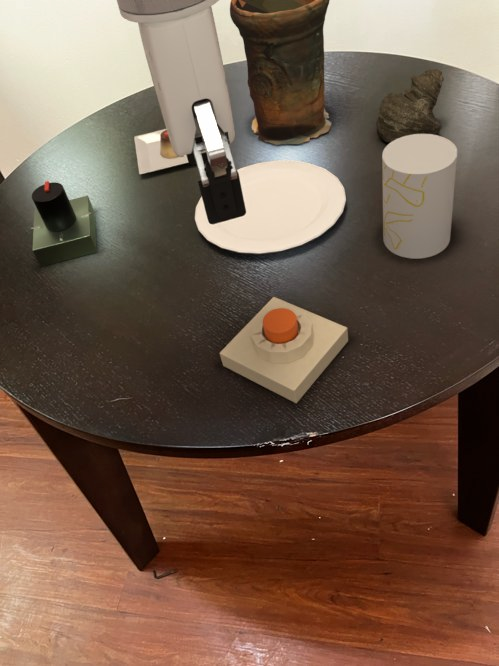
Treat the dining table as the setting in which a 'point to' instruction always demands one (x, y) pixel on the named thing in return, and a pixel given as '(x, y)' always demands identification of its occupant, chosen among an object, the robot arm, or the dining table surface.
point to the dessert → (156, 152)
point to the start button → (280, 325)
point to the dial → (54, 206)
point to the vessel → (284, 66)
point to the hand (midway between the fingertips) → (215, 187)
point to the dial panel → (66, 236)
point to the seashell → (411, 108)
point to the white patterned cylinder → (418, 194)
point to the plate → (278, 208)
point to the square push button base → (285, 352)
